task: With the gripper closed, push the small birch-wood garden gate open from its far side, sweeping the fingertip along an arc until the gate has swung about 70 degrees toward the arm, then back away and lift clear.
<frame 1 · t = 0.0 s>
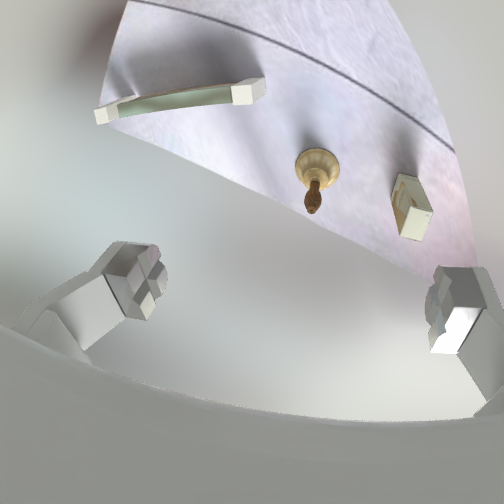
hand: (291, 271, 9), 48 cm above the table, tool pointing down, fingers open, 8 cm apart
hand bell: (317, 168, 56), on the table
skincare box: (403, 189, 54), on the table
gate: (179, 97, 48), point 5 cm above the table, hinge at 0.0°
gate posts: (189, 92, 52), on the table
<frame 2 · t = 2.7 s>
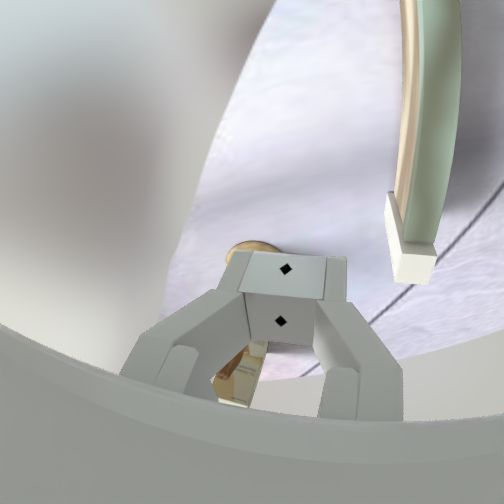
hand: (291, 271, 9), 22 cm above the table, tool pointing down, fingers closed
hand bell: (258, 266, 40), on the table
skincare box: (249, 341, 51), on the table
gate: (425, 95, 18), point 5 cm above the table, hinge at 0.0°
gate posts: (410, 81, 22), on the table
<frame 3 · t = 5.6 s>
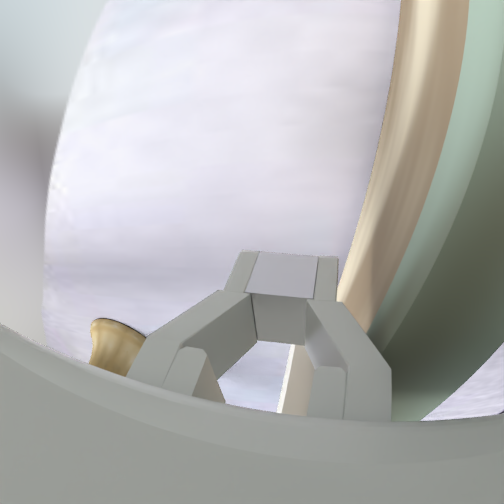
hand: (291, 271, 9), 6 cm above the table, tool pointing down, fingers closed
hand bell: (128, 344, 28), on the table
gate: (428, 204, 7), point 5 cm above the table, hinge at 2.4°, touching gripper
gate posts: (389, 132, 11), on the table
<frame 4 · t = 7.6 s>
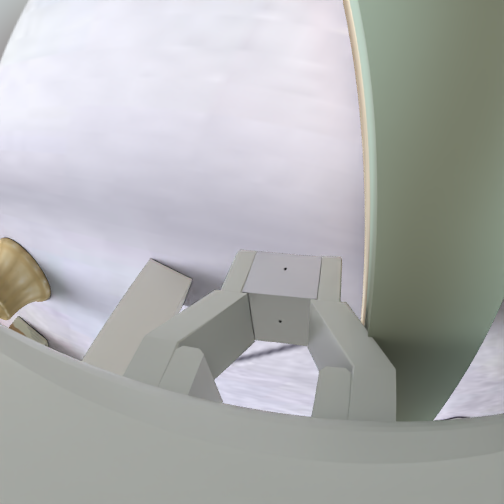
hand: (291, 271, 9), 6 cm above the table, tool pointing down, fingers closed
hand bell: (24, 268, 26), on the table
skincare box: (33, 331, 37), on the table
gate: (408, 180, 7), point 5 cm above the table, hinge at 33.4°, touching gripper
gate posts: (230, 91, 12), on the table
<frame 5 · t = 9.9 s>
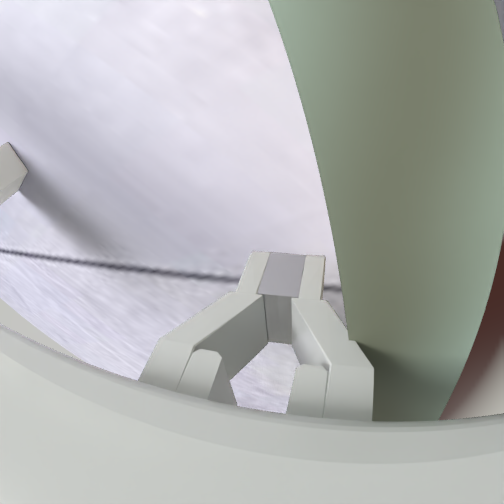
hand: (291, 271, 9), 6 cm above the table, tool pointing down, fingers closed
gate: (391, 176, 7), point 5 cm above the table, hinge at 72.7°, touching gate posts, gripper
gate posts: (96, 31, 10), on the table
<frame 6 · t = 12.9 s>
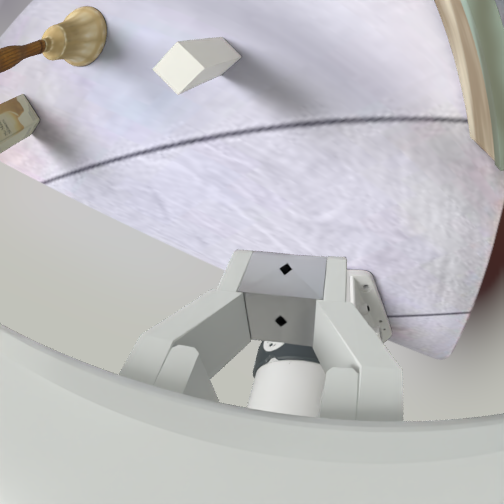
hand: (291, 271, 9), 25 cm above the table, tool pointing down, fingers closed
hand bell: (83, 36, 27), on the table
skincare box: (27, 113, 35), on the table
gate: (472, 37, 15), point 5 cm above the table, hinge at 72.7°, touching gate posts
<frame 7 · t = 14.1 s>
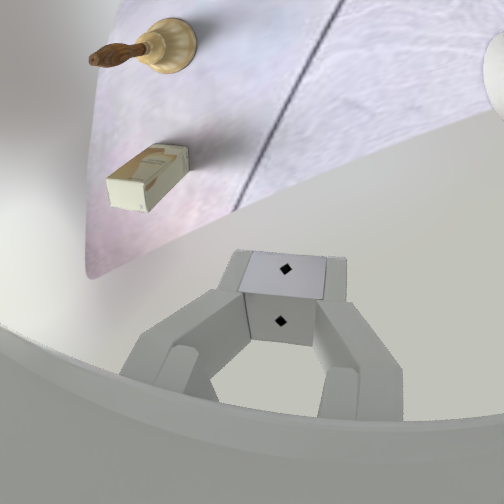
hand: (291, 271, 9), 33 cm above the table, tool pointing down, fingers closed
hand bell: (169, 45, 34), on the table
skincare box: (170, 156, 45), on the table
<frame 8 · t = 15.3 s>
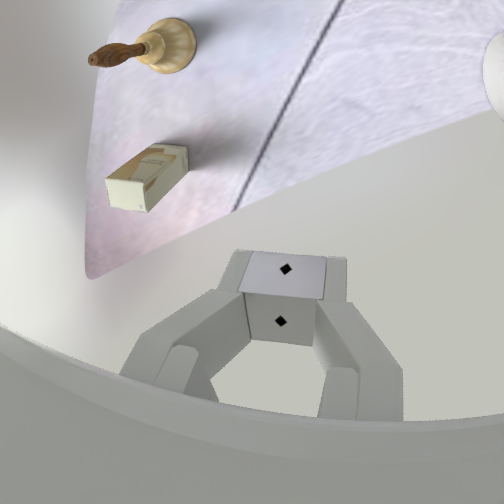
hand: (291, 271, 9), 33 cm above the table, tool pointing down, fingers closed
hand bell: (168, 45, 34), on the table
skincare box: (170, 156, 45), on the table
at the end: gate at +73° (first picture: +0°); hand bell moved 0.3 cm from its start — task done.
